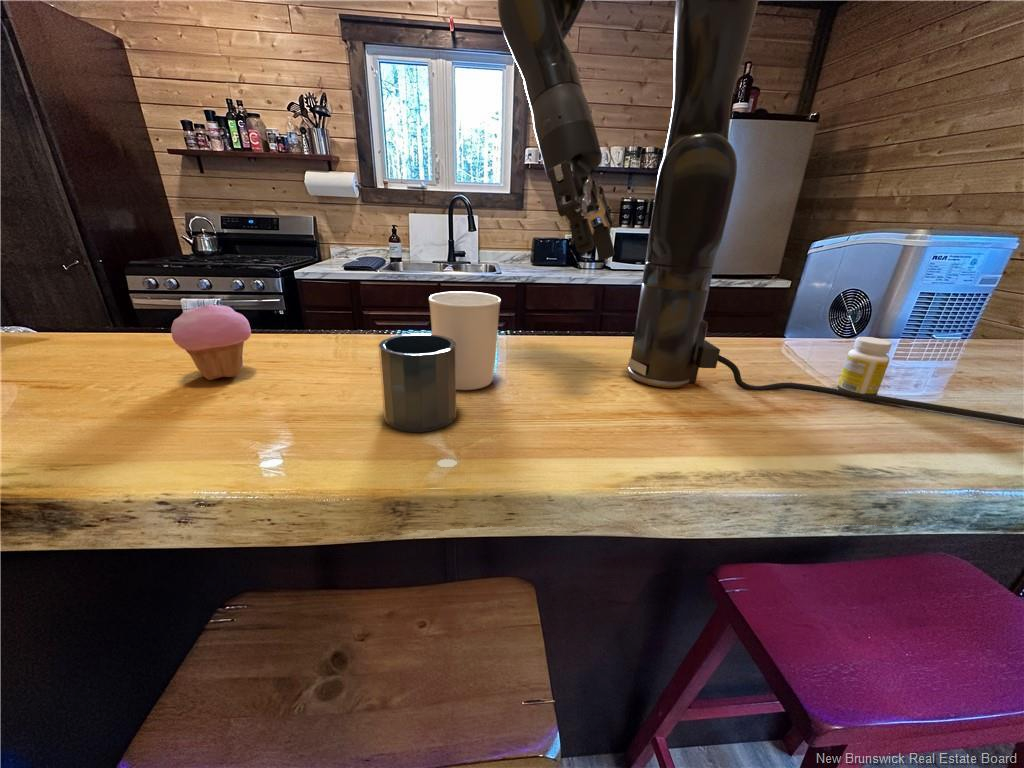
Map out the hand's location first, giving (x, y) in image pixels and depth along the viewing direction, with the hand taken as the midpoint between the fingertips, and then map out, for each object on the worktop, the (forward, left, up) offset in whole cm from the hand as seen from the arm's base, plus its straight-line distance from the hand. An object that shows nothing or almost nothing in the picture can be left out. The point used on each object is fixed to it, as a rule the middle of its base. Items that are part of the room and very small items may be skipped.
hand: (597, 254), depth 57 cm
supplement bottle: (-40, +2, -19) cm, 45 cm away
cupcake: (+52, +1, -19) cm, 55 cm away
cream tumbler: (+18, 0, -19) cm, 26 cm away
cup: (+22, +12, -18) cm, 31 cm away
